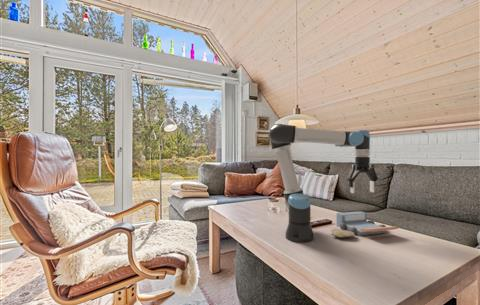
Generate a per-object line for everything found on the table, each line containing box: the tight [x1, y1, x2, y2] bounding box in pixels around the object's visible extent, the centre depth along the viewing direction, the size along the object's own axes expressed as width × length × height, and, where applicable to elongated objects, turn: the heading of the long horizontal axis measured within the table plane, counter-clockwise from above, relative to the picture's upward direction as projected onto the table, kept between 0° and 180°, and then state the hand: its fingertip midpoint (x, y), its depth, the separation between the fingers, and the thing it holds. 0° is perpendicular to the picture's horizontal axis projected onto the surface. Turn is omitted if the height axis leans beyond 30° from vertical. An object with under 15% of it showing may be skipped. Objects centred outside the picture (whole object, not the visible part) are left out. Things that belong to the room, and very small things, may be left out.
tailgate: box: [360, 226, 399, 232], centre depth 125 cm, size 17×1×8 cm
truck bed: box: [336, 211, 387, 236], centre depth 138 cm, size 22×20×8 cm
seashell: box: [331, 228, 355, 239], centre depth 127 cm, size 12×12×3 cm
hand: (362, 192), depth 137 cm, fingers open, 13 cm apart
